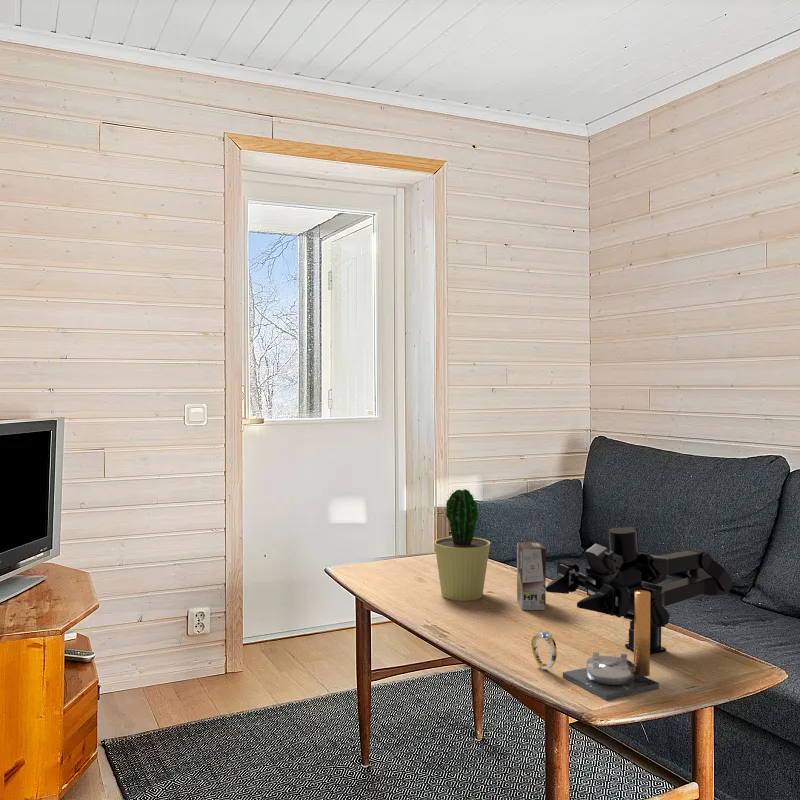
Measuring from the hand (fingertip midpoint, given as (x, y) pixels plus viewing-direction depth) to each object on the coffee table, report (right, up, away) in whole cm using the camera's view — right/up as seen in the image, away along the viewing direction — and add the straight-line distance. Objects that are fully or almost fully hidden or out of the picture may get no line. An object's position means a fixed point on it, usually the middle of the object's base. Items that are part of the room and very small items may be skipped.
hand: (561, 597), depth 167 cm
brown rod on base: (+10, -14, -6) cm, 18 cm away
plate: (+8, -15, -6) cm, 19 cm away
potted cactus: (-16, -14, +59) cm, 63 cm away
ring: (-3, -15, +2) cm, 16 cm away
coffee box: (+2, -14, +49) cm, 51 cm away
